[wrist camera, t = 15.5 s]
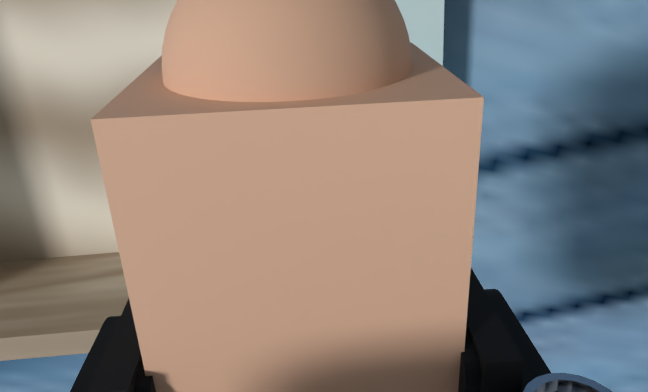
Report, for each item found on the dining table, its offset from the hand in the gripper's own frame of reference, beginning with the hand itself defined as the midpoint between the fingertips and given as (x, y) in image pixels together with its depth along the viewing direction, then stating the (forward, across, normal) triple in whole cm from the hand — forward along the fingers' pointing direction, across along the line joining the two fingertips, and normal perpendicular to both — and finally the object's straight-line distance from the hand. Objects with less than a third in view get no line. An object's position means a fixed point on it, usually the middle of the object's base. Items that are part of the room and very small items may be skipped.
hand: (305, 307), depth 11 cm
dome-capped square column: (0, 0, 0) cm, 0 cm away
